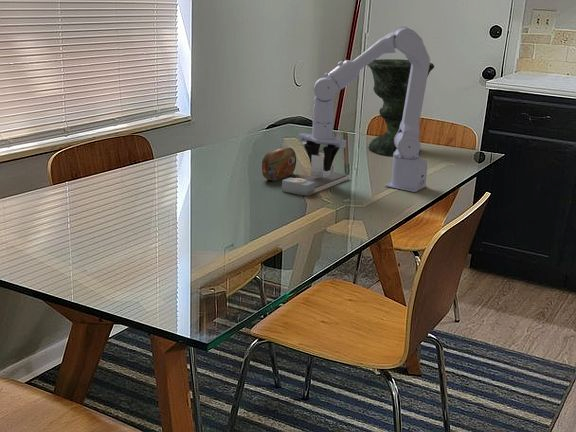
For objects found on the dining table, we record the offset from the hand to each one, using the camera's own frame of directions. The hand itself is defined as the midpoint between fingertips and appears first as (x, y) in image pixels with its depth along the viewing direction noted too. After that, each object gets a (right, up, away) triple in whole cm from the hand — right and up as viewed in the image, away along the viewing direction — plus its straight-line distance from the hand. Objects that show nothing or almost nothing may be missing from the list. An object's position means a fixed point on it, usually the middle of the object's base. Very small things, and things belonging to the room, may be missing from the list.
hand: (320, 169), depth 212 cm
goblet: (+27, +9, +46) cm, 54 cm away
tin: (-12, -2, +7) cm, 14 cm away
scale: (-1, -4, 0) cm, 5 cm away
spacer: (0, -2, 0) cm, 2 cm away
